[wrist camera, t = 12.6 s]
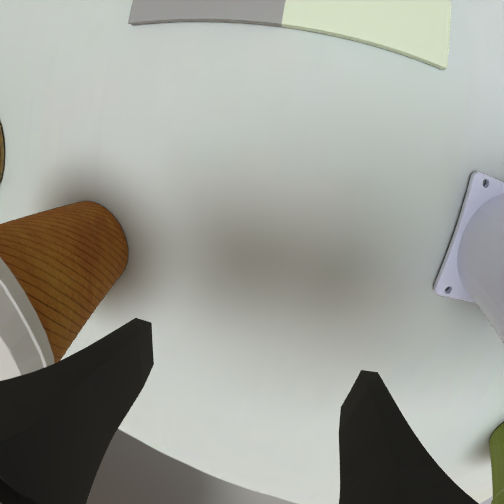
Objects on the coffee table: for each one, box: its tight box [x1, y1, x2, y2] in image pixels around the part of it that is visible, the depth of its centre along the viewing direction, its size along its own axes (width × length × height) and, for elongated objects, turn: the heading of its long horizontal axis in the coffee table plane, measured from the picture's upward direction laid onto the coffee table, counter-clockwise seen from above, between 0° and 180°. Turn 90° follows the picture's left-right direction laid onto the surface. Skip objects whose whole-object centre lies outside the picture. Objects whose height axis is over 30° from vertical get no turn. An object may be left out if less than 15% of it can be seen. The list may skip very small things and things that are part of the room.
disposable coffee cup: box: [0, 201, 128, 381], centre depth 15 cm, size 10×10×12 cm
